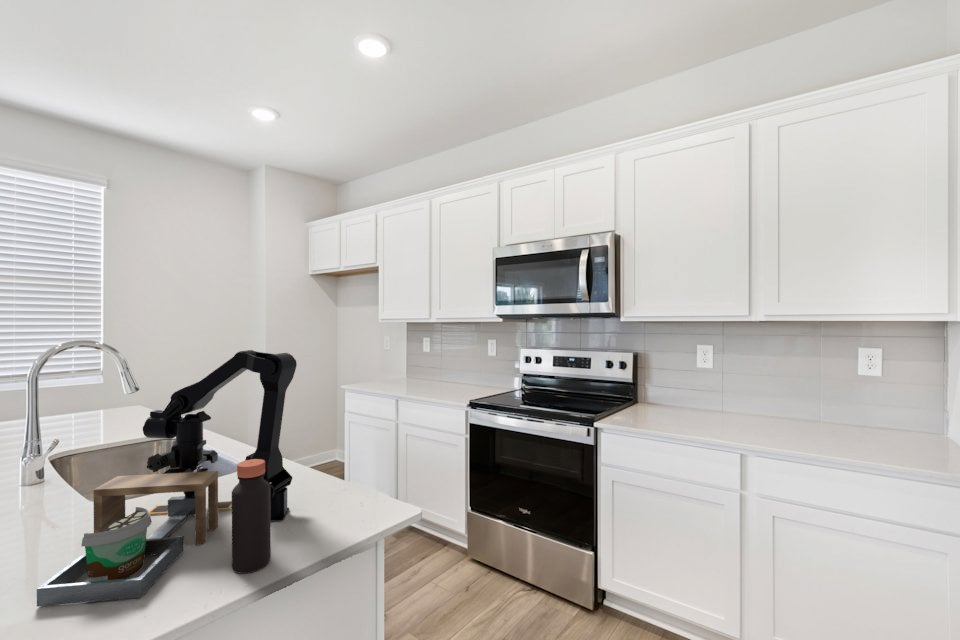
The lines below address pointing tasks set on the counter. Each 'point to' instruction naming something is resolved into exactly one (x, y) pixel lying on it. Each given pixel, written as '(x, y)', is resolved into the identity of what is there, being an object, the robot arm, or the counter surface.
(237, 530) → the bottle
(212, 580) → the counter surface
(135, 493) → the tunnel
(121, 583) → the long grey tray
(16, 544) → the counter surface
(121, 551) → the food container
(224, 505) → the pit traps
